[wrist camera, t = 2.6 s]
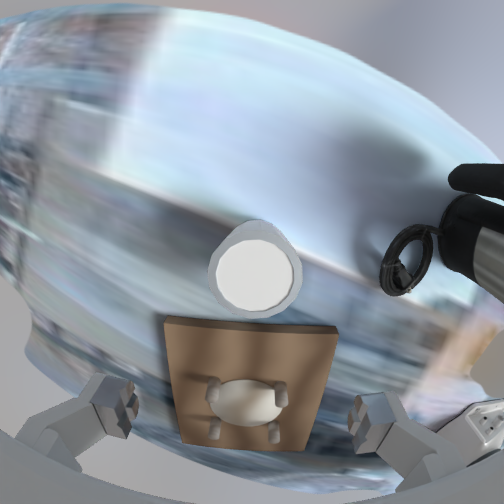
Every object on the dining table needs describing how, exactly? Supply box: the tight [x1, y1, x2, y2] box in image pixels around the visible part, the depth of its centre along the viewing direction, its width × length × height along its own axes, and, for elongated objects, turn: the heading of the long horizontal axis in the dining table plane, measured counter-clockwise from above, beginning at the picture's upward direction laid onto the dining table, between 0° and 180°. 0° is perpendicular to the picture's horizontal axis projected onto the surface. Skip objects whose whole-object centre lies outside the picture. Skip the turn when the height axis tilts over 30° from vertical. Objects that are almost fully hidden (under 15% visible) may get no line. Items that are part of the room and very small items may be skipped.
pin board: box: [164, 316, 339, 451], centre depth 30 cm, size 18×22×5 cm
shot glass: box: [207, 220, 302, 319], centre depth 24 cm, size 7×7×7 cm
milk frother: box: [379, 163, 504, 304], centre depth 19 cm, size 14×16×15 cm
